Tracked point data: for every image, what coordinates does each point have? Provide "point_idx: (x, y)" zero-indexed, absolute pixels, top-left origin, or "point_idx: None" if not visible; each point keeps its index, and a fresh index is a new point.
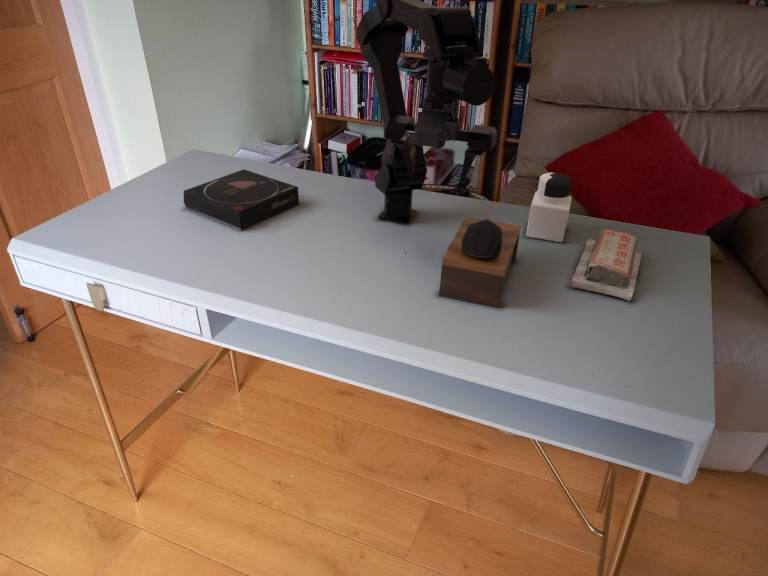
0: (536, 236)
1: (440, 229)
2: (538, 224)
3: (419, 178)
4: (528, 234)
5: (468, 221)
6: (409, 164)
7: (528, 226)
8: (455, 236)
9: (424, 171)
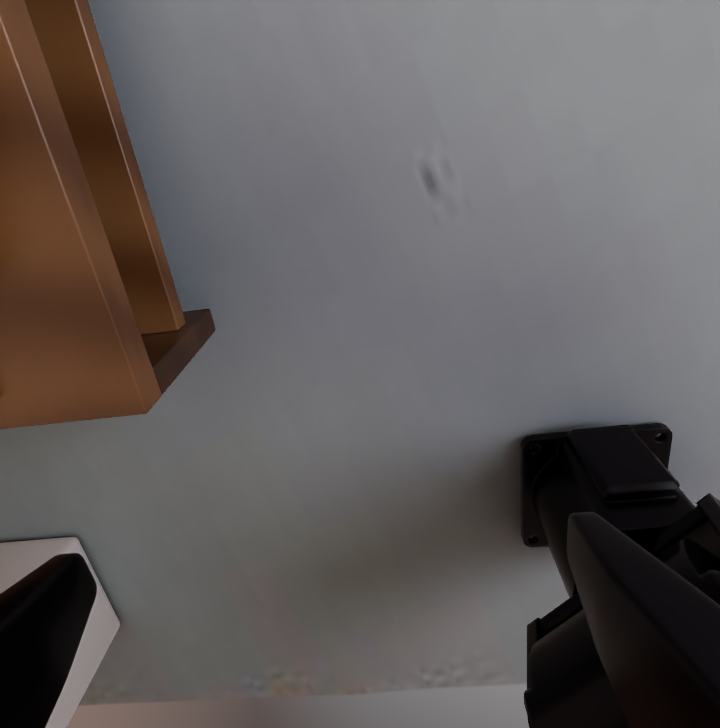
0: (37, 543)
1: (377, 458)
2: (5, 583)
3: (550, 654)
4: (63, 542)
5: (97, 363)
6: (683, 626)
7: None
8: (23, 95)
9: (537, 714)
